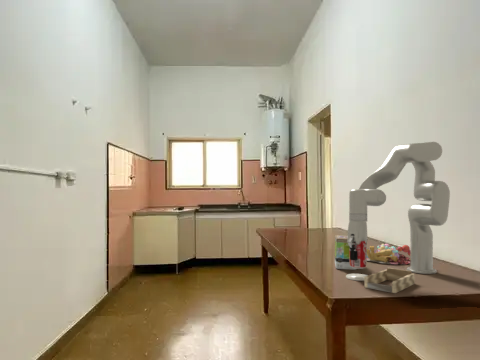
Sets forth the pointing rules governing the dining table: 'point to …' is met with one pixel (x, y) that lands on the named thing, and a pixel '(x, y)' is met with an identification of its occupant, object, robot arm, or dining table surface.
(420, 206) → the robot arm
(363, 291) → the dining table surface
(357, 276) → the coaster
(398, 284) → the light wood rectangular frame
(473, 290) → the dining table surface
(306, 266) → the dining table surface
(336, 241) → the tea box
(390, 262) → the candy platter
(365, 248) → the soda can
